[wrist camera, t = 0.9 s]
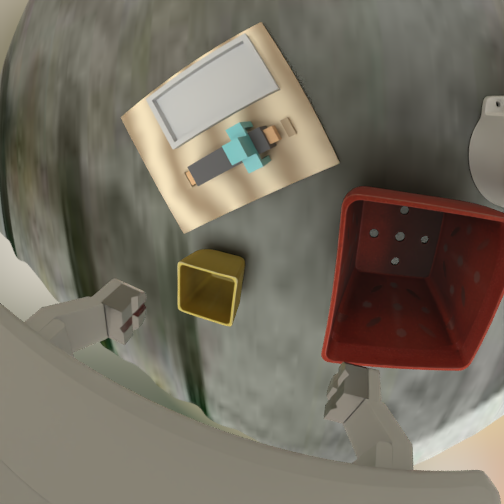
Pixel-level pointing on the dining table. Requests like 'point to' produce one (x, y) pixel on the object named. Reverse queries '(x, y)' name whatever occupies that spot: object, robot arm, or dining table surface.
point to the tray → (212, 91)
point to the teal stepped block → (243, 148)
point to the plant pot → (413, 281)
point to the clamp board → (236, 179)
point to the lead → (219, 160)
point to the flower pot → (210, 285)
